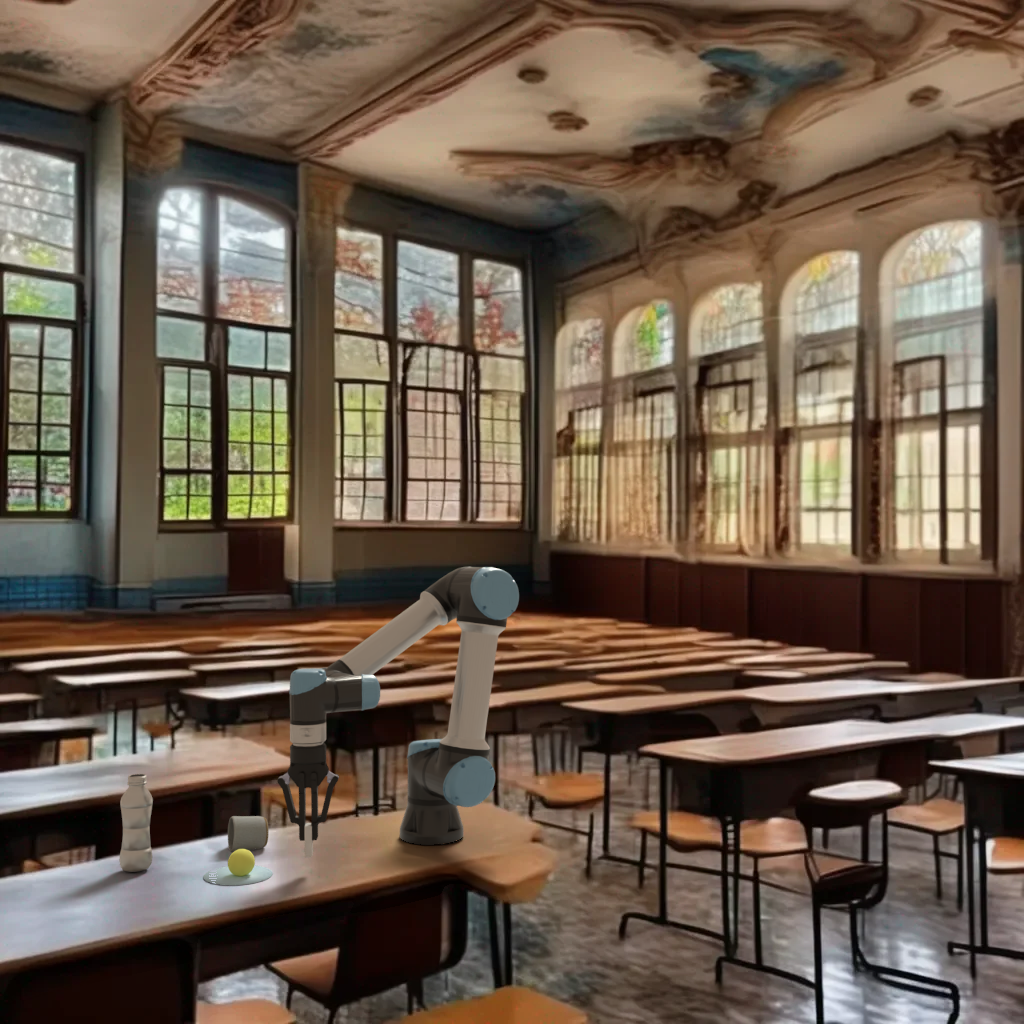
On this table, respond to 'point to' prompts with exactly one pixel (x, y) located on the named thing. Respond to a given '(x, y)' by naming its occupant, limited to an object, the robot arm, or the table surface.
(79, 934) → the table surface
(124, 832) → the plastic bottle
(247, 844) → the ceramic mug
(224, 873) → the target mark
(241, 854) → the ball
